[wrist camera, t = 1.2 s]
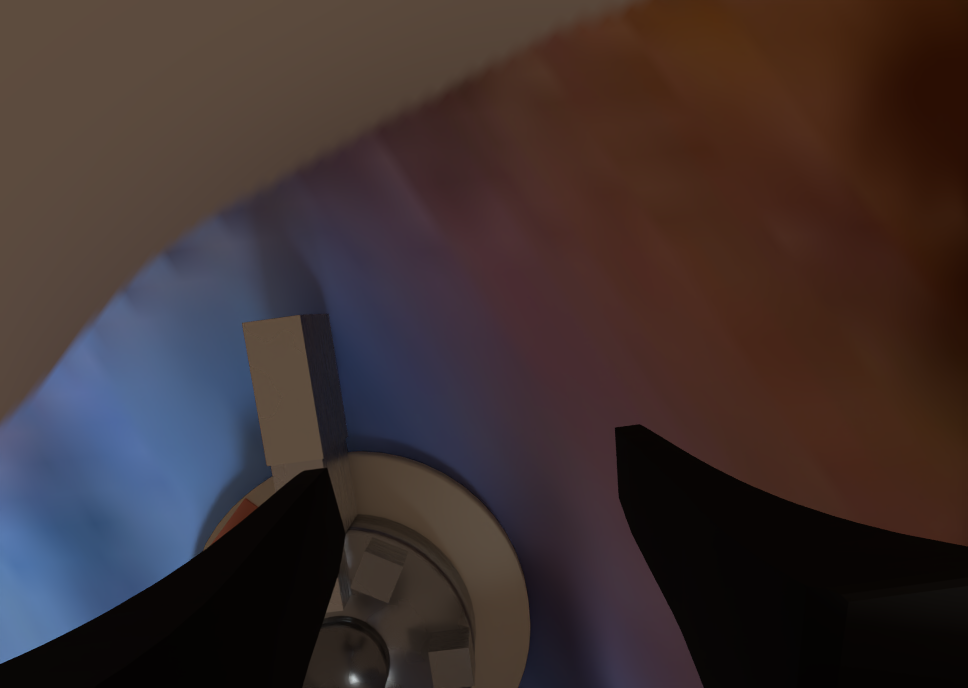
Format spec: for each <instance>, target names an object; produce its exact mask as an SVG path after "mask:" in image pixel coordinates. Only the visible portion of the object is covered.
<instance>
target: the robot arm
mask: <svg viewBox="0 0 968 688" xmlns="http://www.w3.org/2000/svg"><path fill="white" fill-rule="evenodd" d="M615 437H616V456H617V474H618V492H619V499H620V502H621V505H622V508H623V511H624V514H625V516H626V519H627V522H628V524H629V527H630V530H631V533H632V535H633V537H634V539H635V541H636V543H637V545H638V547H639V549H640V551H641V552H642V554H643V556H644V558H645V560H646V562H647V564H648V566H649V568H650V570H651V572H652V574H653V576H654V578H655V580H656V582H657V583H658V585H659V587H660V589H661V591H662V593H663V595H664V597H665V599H666V601H667V603H668V605H669V607H670V609H671V611H672V612H673V614H674V617H675V619H676V621H677V623H678V625H679V627H680V629H681V632H682V634H683V636H684V639H685V641H686V644H687V646H688V649H689V651H690V654H691V656H692V659H693V661H694V664H695V666H696V669H697V671H698V674H699V676H700V679H701V681H702V684H703V687H704V688H968V547H967V546H962V545H957V544H952V543H946V542H941V541H936V540H931V539H926V538H920V537H915V536H910V535H905V534H900V533H896V532H892V531H888V530H884V529H880V528H876V527H872V526H868V525H864V524H860V523H856V522H853V521H849V520H846V519H842V518H839V517H835V516H832V515H829V514H826V513H823V512H820V511H817V510H814V509H810V508H807V507H804V506H801V505H798V504H796V503H793V502H790V501H787V500H785V499H782V498H779V497H777V496H775V495H772V494H770V493H767V492H765V491H763V490H760V489H758V488H755V487H753V486H751V485H748V484H746V483H744V482H742V481H740V480H738V479H736V478H734V477H732V476H730V475H728V474H726V473H724V472H722V471H720V470H718V469H716V468H714V467H712V466H710V465H708V464H706V463H705V462H703V461H701V460H699V459H697V458H696V457H694V456H692V455H690V454H689V453H687V452H685V451H684V450H682V449H680V448H679V447H677V446H675V445H674V444H672V443H670V442H669V441H667V440H665V439H664V438H662V437H660V436H659V435H657V434H656V433H654V432H652V431H651V430H649V429H647V428H646V427H644V426H642V425H640V424H638V425H631V426H624V427H616V428H615ZM345 536H346V533H345V530H344V526H343V522H342V519H341V515H340V512H339V508H338V504H337V501H336V497H335V494H334V490H333V486H332V483H331V479H330V476H329V472H328V469H327V467H326V468H319V469H312V470H305V471H302V472H301V473H299V474H298V475H296V476H295V477H294V478H292V479H291V480H290V481H289V482H287V483H286V484H285V485H284V486H283V487H281V488H280V489H279V490H278V491H277V492H275V493H274V494H273V495H272V496H271V497H270V498H268V499H267V500H266V501H265V502H264V503H263V504H261V505H260V506H259V507H258V508H257V509H255V510H254V511H253V512H252V513H251V514H249V515H248V516H247V517H246V518H245V519H243V520H242V521H241V522H240V523H238V524H237V525H236V526H235V527H233V528H232V529H231V530H230V531H228V532H227V533H226V534H224V535H223V536H222V537H221V538H219V539H218V540H217V541H215V542H214V543H213V544H212V545H210V546H209V547H208V548H206V549H205V550H204V551H202V552H201V553H200V554H198V555H197V556H195V557H194V558H193V559H191V560H190V561H188V562H187V563H186V564H184V565H183V566H181V567H180V568H178V569H177V570H175V571H174V572H172V573H171V574H169V575H168V576H166V577H165V578H163V579H161V580H160V581H158V582H157V583H155V584H154V585H152V586H150V587H149V588H147V589H145V590H143V591H142V592H140V593H138V594H137V595H135V596H133V597H132V598H130V599H128V600H126V601H125V602H123V603H121V604H120V605H118V606H116V607H114V608H113V609H111V610H109V611H108V612H106V613H104V614H102V615H100V616H99V617H97V618H95V619H93V620H91V621H89V622H87V623H85V624H83V625H81V626H80V627H78V628H76V629H74V630H72V631H70V632H68V633H66V634H64V635H62V636H60V637H58V638H56V639H54V640H52V641H50V642H48V643H46V644H44V645H41V646H39V647H37V648H35V649H33V650H31V651H29V652H27V653H24V654H22V655H20V656H18V657H15V658H13V659H11V660H8V661H6V662H4V663H2V664H0V688H302V687H303V683H304V680H305V676H306V673H307V669H308V666H309V662H310V659H311V656H312V653H313V650H314V647H315V644H316V641H317V638H318V635H319V632H320V629H321V626H322V623H323V620H324V617H325V614H326V611H327V608H328V605H329V602H330V599H331V596H332V593H333V590H334V587H335V584H336V580H337V577H338V574H339V570H340V565H341V560H342V554H343V548H344V542H345Z"/></svg>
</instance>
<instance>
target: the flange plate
mask: <svg viewBox="0 0 968 688" xmlns="http://www.w3.org/2000/svg"><path fill="white" fill-rule="evenodd" d="M348 457H349V463H350V469H351V475H352V481H353V487H354V494H355V500H356V506H357V512H358V514H362V515H372V516H377V517H382V518H386V519H389V520H392V521H395V522H398V523H401V524H403V525H405V526H407V527H409V528H411V529H413V530H415V531H417V532H418V533H420V534H421V535H423V536H424V537H426V538H427V539H429V540H430V541H431V542H432V543H433V544H435V545H436V546H437V547H438V548H439V549H440V550H441V551H442V552H443V553H444V554H445V555H446V556H447V557H448V558H449V560H450V561H451V562H452V564H453V565H454V566H455V568H456V569H457V571H458V572H459V574H460V576H461V578H462V579H463V581H464V583H465V585H466V587H467V590H468V593H469V596H470V598H471V601H472V605H473V610H474V615H475V625H476V639H475V656H474V657H475V664H476V665H475V683H474V686H472V687H471V688H518V686H519V684H520V681H521V678H522V675H523V672H524V670H525V665H526V660H527V655H528V651H529V640H530V615H529V602H528V594H527V589H526V584H525V579H524V574H523V571H522V568H521V565H520V562H519V559H518V557H517V554H516V551H515V549H514V548H513V546H512V544H511V542H510V540H509V538H508V536H507V534H506V532H505V531H504V529H503V528H502V527H501V525H500V524H499V522H498V521H497V519H496V518H495V516H494V515H493V514H492V513H491V512H490V511H489V510H488V509H487V507H486V506H485V505H484V504H483V503H482V502H481V501H480V500H479V499H478V498H477V497H476V496H475V495H473V494H472V493H471V492H470V491H469V490H468V489H466V488H465V487H464V486H463V485H461V484H460V483H458V482H457V481H455V480H454V479H452V478H451V477H449V476H447V475H446V474H444V473H442V472H440V471H438V470H436V469H434V468H432V467H430V466H428V465H426V464H423V463H420V462H417V461H414V460H411V459H408V458H405V457H402V456H397V455H392V454H386V453H381V452H365V451H353V452H348ZM274 493H275V487H274V481H273V476H272V477H270V478H269V479H267V480H266V481H264V482H263V483H261V484H260V485H258V486H257V487H256V488H254V489H253V490H252V491H250V492H249V493H248V494H247V495H246V496H245V497H243V498H242V499H241V500H240V501H239V502H238V503H237V504H236V505H235V506H233V507H232V508H231V510H230V511H229V512H228V513H227V514H226V516H225V517H224V518H223V519H222V520H221V521H220V523H219V524H218V525H217V527H216V528H215V530H214V532H213V533H212V535H211V536H210V538H209V539H208V541H207V543H206V545H205V547H204V549H203V551H204V550H205V549H206V548H208V547H209V546H210V545H212V544H213V543H214V542H215V541H217V540H218V539H219V538H221V537H222V536H223V535H224V534H226V533H227V532H228V531H230V530H231V529H232V528H233V527H235V526H236V525H237V524H238V523H240V522H241V521H242V520H243V519H245V518H246V517H247V516H248V515H249V514H251V513H252V512H253V511H254V510H255V509H257V508H258V507H259V506H260V505H261V504H263V503H264V502H265V501H266V500H267V499H268V498H270V497H271V496H272V495H273V494H274Z"/></svg>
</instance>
